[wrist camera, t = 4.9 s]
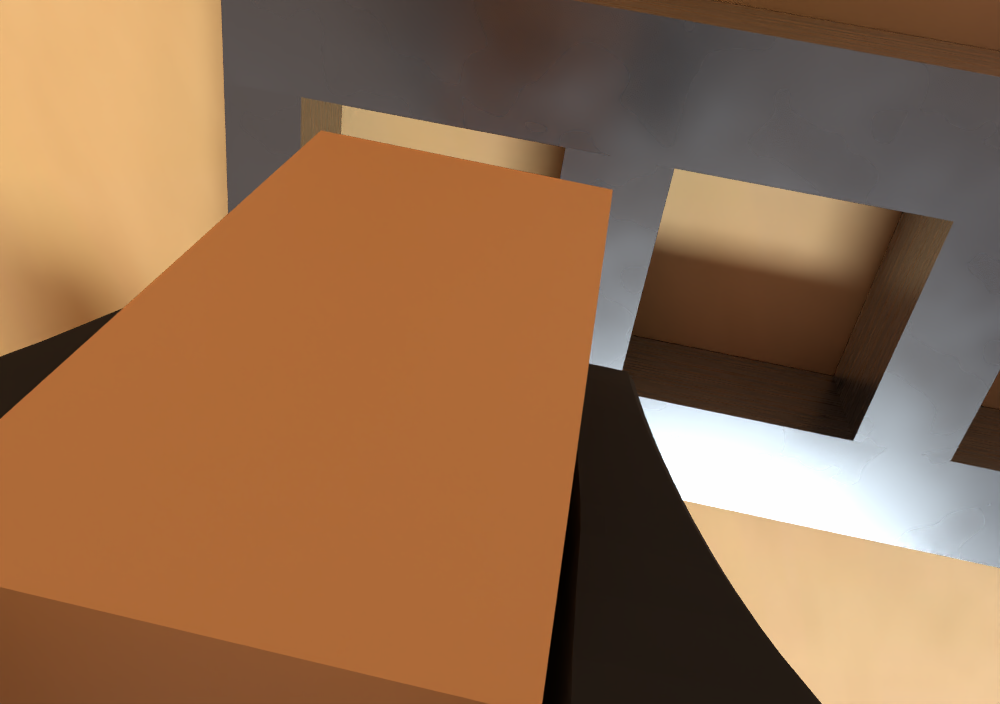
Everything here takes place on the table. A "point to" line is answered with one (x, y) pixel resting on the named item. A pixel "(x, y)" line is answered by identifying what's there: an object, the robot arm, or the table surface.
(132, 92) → the table surface
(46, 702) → the peg
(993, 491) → the grey slotted block
